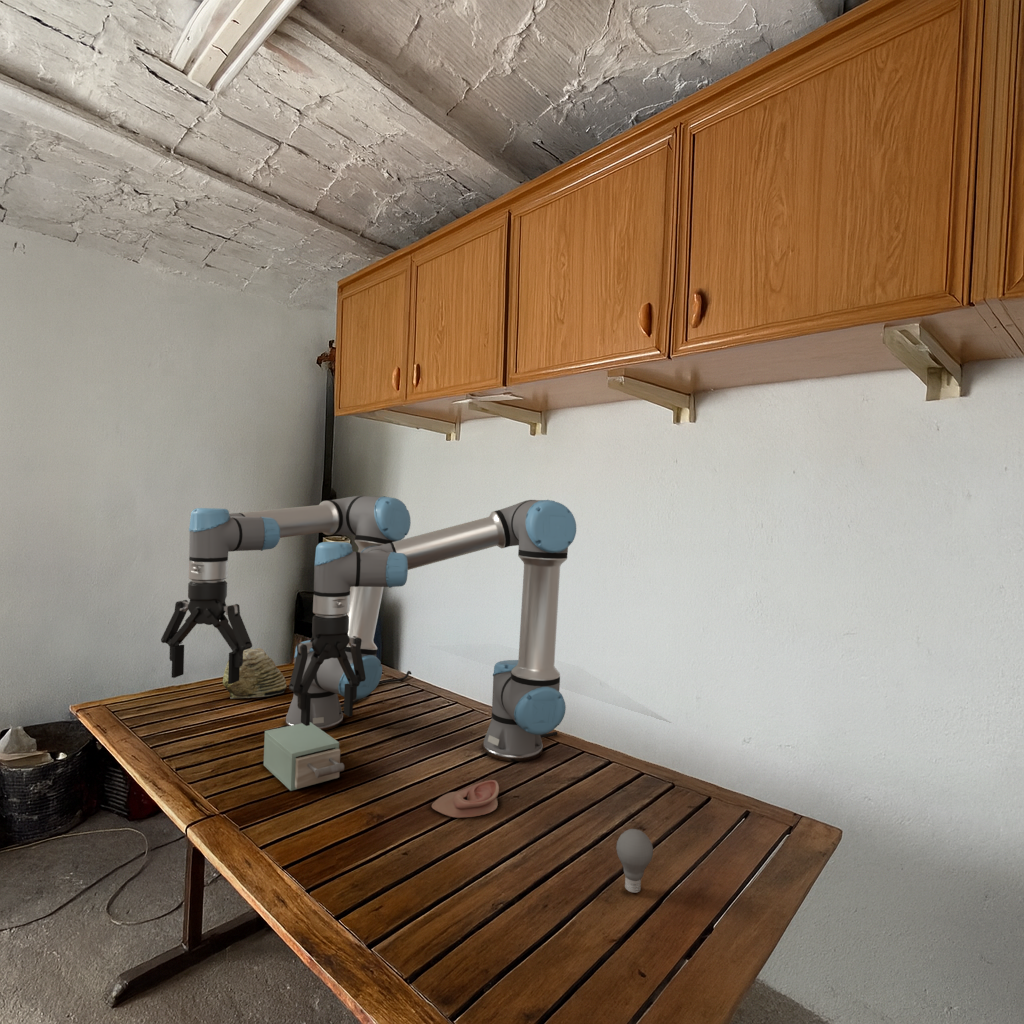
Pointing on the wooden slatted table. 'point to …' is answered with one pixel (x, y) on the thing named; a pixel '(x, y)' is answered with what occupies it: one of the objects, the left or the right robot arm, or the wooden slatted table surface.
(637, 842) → the light bulb
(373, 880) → the wooden slatted table surface
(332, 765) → the drawer
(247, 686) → the fossil
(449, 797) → the anatomical model
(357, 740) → the wooden slatted table surface
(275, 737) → the cabinet
